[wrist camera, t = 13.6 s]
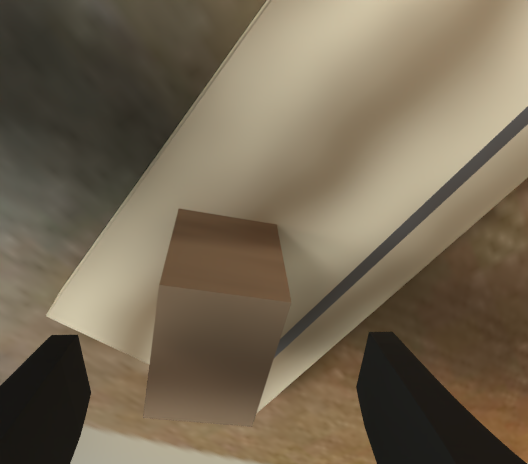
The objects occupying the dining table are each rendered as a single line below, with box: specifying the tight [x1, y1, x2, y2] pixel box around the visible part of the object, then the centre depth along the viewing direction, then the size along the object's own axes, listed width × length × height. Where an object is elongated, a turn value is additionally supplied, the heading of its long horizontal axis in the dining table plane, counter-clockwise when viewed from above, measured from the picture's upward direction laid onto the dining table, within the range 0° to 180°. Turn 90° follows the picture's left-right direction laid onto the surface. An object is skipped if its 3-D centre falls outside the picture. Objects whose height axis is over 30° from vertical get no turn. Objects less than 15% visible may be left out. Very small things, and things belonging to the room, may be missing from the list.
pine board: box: [46, 0, 528, 412], centre depth 16 cm, size 12×30×2 cm, turn 141°
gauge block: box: [143, 209, 292, 427], centre depth 16 cm, size 8×4×5 cm, turn 168°
